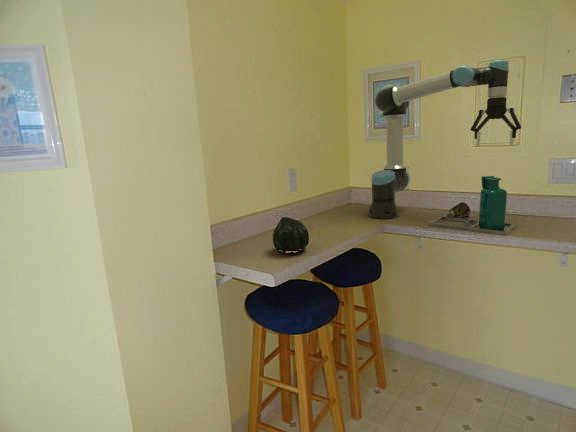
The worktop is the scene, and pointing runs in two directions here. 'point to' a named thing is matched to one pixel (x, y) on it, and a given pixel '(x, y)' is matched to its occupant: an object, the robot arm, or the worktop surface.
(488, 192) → the green bottle
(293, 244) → the squash
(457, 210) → the brown mottled shell
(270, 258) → the worktop surface
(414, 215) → the worktop surface
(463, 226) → the rail
